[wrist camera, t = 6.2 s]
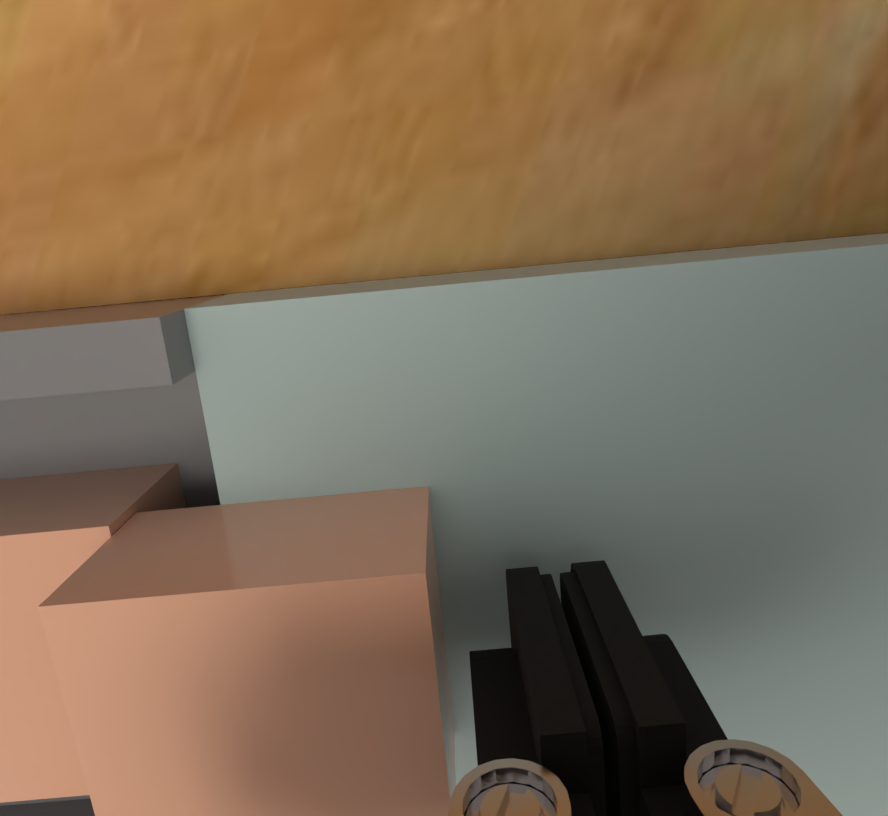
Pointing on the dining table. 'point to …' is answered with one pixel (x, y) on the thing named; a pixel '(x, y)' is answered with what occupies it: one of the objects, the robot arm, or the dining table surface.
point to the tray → (101, 412)
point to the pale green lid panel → (611, 459)
